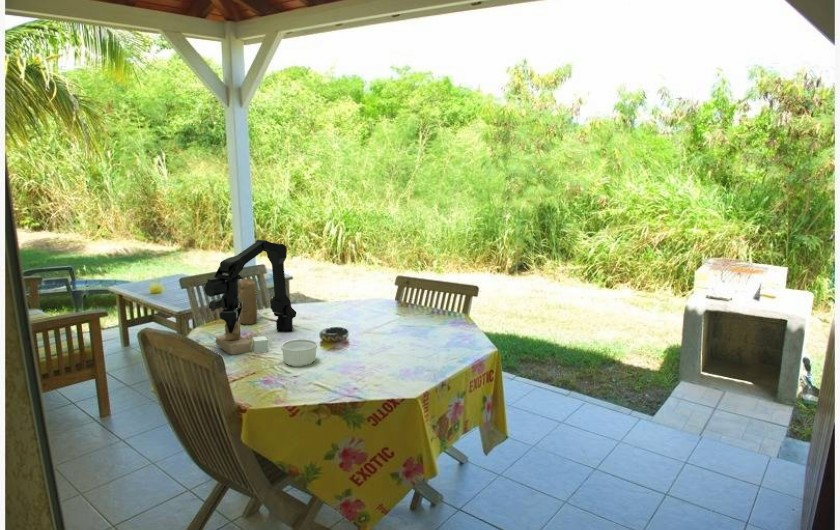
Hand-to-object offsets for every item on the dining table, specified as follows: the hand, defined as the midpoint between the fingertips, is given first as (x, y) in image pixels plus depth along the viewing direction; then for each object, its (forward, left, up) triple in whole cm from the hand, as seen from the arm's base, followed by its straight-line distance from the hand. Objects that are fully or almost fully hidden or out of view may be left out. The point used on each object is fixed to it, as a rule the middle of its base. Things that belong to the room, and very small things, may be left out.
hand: (232, 329), depth 224 cm
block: (-1, -36, -8) cm, 37 cm away
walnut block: (0, 0, -4) cm, 4 cm away
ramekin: (-27, +18, -8) cm, 33 cm away
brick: (0, 0, -8) cm, 8 cm away
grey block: (-11, +4, -8) cm, 14 cm away
